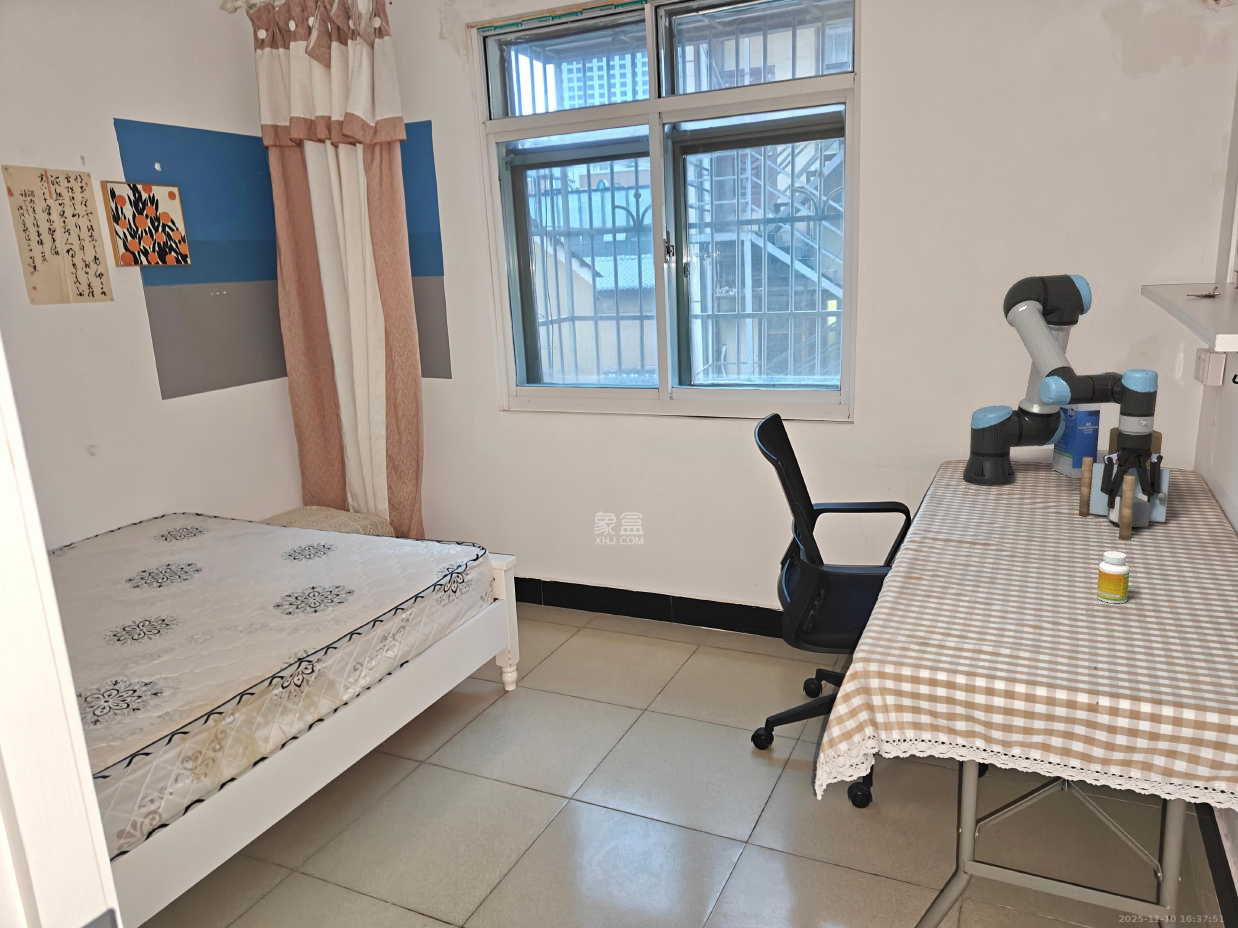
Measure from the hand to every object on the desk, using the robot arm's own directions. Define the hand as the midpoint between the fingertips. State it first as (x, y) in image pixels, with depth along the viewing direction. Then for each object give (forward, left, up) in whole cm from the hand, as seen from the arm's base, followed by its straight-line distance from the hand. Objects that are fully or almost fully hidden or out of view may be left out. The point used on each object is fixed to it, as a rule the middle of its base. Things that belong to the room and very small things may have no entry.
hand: (1127, 519), depth 214 cm
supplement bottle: (+47, -27, -2) cm, 54 cm away
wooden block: (-26, +15, -2) cm, 30 cm away
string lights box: (-56, +13, -2) cm, 57 cm away
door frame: (-1, -5, -2) cm, 6 cm away
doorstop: (0, 0, 0) cm, 1 cm away
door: (-4, +2, -1) cm, 5 cm away
